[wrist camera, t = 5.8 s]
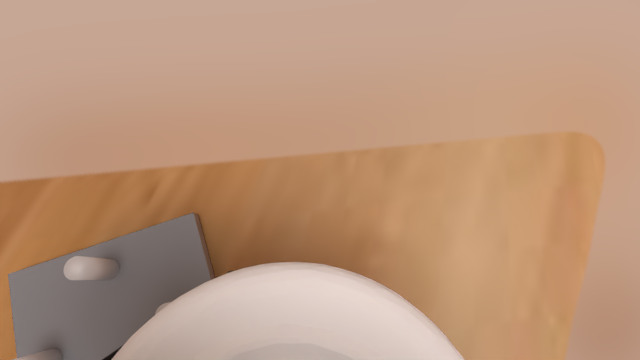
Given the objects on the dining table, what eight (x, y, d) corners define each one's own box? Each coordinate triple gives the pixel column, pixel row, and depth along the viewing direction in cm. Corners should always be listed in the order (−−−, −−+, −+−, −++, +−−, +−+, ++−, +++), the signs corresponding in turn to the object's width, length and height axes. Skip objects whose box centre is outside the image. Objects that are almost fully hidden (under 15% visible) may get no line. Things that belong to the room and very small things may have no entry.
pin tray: (45, 475, 18) (-26, 530, 14) (22, 274, 20) (-44, 273, 17) (245, 392, 19) (230, 421, 15) (198, 215, 22) (175, 202, 18)
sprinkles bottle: (250, 382, 15) (-77, 1013, 2) (253, 276, 16) (58, 265, 3) (351, 376, 15) (614, 908, 2) (345, 273, 16) (492, 249, 4)
